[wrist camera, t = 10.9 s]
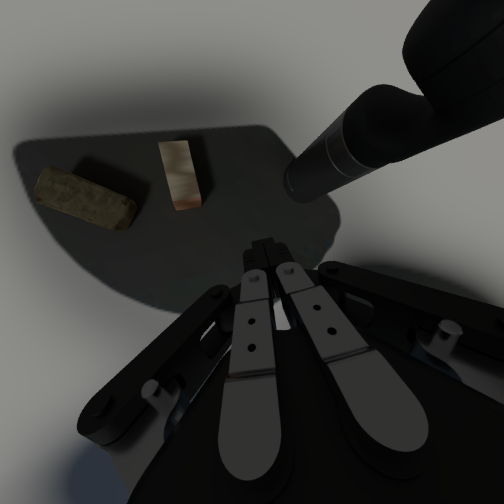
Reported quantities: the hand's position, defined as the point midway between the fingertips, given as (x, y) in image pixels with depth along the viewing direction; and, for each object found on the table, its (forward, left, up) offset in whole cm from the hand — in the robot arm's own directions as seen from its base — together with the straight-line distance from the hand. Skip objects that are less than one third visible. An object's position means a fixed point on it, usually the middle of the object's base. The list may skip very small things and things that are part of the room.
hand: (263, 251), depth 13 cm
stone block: (+18, -12, -25) cm, 33 cm away
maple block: (+4, -10, -22) cm, 24 cm away
